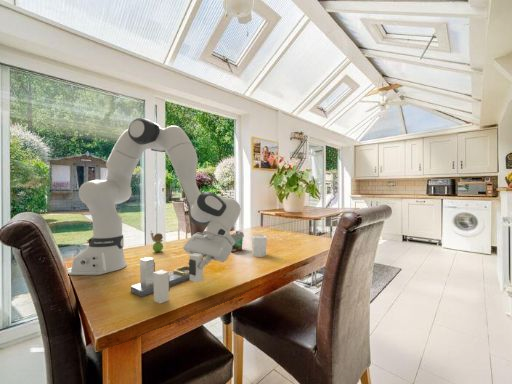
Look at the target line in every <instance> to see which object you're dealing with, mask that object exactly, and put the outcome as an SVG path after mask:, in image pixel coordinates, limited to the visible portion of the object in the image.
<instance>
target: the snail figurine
mask: <svg viewBox="0 0 512 384" xmlns="http://www.w3.org/2000/svg"><path fill="white" fill-rule="evenodd" d="M150 236H151V240H152V241H153V242H154V243H153V245H152V250H153V251H154V252H156V253H159V252H162V251H163V249H164V245H163V243H162V242H163V237H164V236H163V234H162V233H160V232H158V233H155V234H154V233H153V232H152V230H150Z"/></svg>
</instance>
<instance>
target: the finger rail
mask: <svg viewBox="0 0 512 384" xmlns="http://www.w3.org/2000/svg"><path fill="white" fill-rule="evenodd" d="M139 261H140V262H139V263H140V266H139V267H140V268H139V269H140V270H139V271H140V276H139V277H140V279H139V280H140V281H139V283H136V284H132V285H131V286H130V293H132V294H134V295H136V296H139V297H140V298H144V297H147V296H149V295H151V294H154V272H156V262H155V258H153V257H151V256H148V257H144V258H140V259H139ZM188 280H190V274H189V265H183V266H181V267H177V268H174V269H173V270H172V272H169V288H170V287H172V286H175V285H178V284H180V283H183V282H185V281H188Z"/></svg>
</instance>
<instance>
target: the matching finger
mask: <svg viewBox="0 0 512 384" xmlns="http://www.w3.org/2000/svg"><path fill="white" fill-rule="evenodd" d="M203 260H204V257H203V254H198V253H195V254H189V259H188V262H189V264H188V266H189V274H190V279H189V281H190V282H193V283H199V282H202V281H203V279H204V268H203V269H200V268H198V267H197V266H198V264H199V262H202V261H203Z"/></svg>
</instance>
